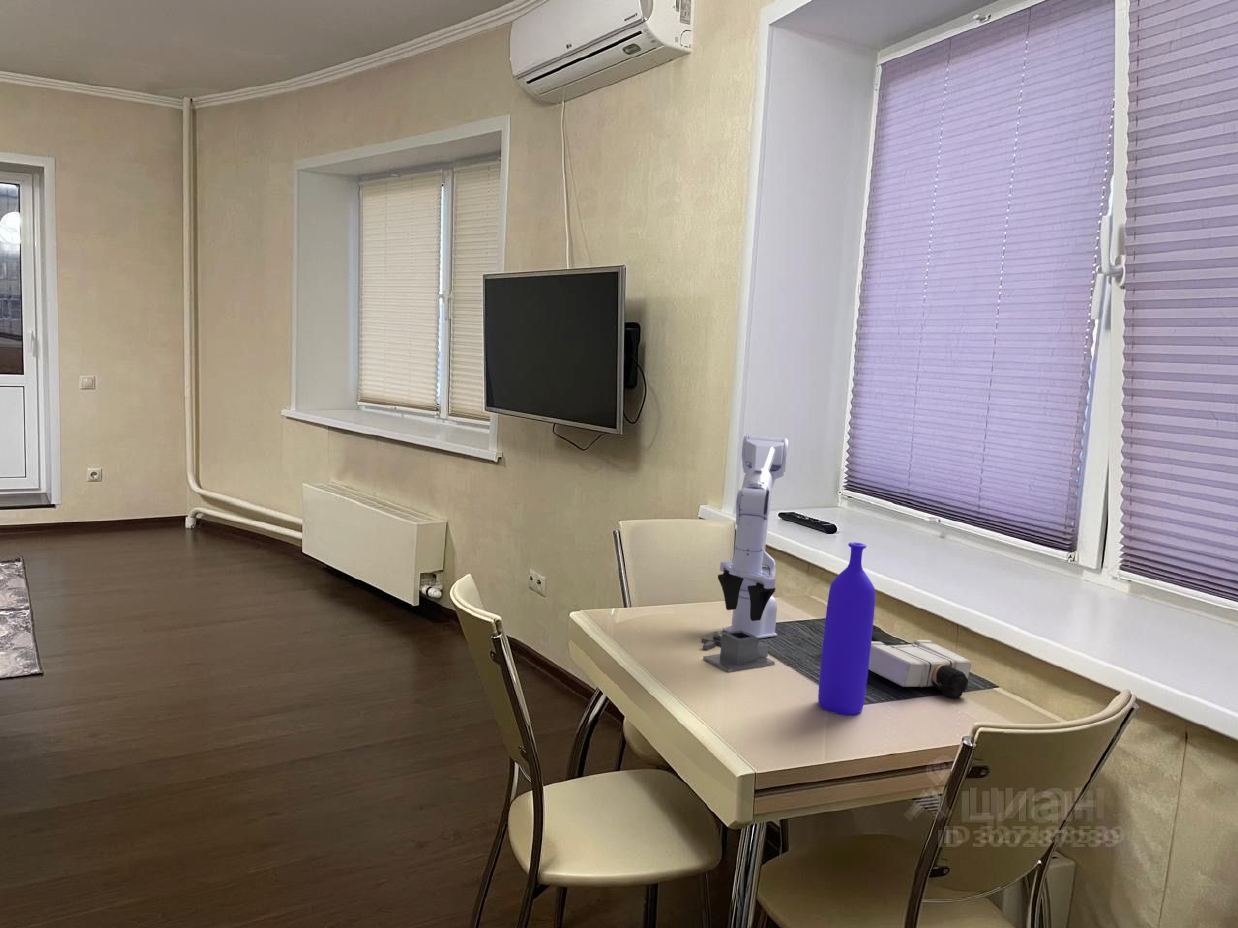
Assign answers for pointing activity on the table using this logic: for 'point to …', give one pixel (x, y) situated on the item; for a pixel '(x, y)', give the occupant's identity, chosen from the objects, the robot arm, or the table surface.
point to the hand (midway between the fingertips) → (743, 614)
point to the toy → (918, 664)
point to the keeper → (732, 667)
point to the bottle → (847, 639)
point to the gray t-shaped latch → (712, 640)
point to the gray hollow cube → (739, 647)
